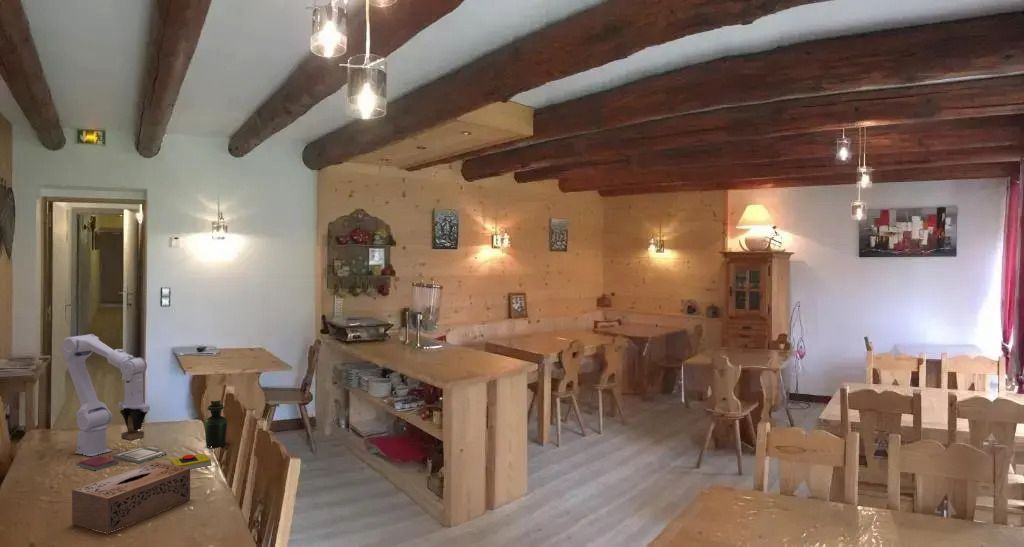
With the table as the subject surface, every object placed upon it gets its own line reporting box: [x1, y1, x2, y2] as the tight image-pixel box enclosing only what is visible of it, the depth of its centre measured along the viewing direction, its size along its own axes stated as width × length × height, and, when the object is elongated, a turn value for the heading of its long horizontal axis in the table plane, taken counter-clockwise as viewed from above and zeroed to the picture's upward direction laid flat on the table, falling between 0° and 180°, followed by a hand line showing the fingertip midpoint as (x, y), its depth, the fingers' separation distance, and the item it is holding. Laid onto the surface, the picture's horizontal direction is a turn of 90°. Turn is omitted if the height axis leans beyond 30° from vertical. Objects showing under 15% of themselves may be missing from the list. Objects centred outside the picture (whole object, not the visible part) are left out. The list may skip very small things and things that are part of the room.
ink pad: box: [75, 455, 119, 471], centre depth 220 cm, size 10×8×2 cm
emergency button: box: [169, 453, 212, 470], centre depth 220 cm, size 9×4×15 cm
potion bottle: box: [203, 398, 228, 449], centre depth 243 cm, size 8×8×18 cm
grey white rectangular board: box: [112, 446, 168, 464], centre depth 230 cm, size 14×11×2 cm
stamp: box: [120, 415, 145, 442], centre depth 228 cm, size 5×5×8 cm
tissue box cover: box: [71, 461, 191, 533], centre depth 182 cm, size 26×14×10 cm, turn 158°
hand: (134, 429), depth 228 cm, fingers closed on stamp, 3 cm apart
